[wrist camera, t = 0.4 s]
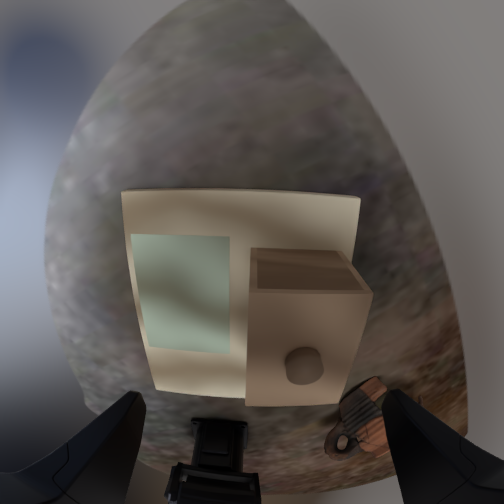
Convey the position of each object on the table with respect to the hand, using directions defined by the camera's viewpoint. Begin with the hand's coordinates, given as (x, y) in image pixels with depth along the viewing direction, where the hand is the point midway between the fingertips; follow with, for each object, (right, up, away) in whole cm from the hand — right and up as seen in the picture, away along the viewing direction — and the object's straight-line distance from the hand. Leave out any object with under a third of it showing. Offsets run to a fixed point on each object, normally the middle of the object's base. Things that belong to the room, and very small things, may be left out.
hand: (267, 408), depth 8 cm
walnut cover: (+2, +2, +12) cm, 12 cm away
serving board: (-2, +1, +13) cm, 13 cm away
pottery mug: (+13, -12, +18) cm, 25 cm away
